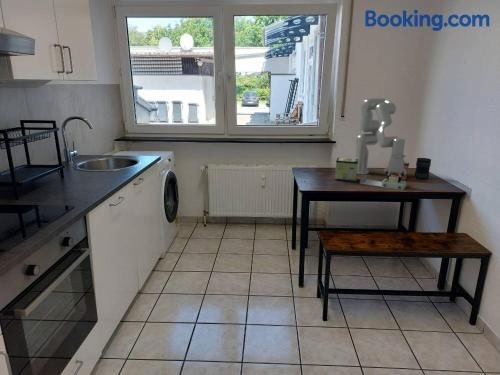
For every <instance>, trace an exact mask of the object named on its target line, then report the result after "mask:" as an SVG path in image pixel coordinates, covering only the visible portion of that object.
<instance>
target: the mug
mask: <svg viewBox="0 0 500 375" xmlns="http://www.w3.org/2000/svg"><path fill="white" fill-rule="evenodd" d="M410 163H411V162H410V161H407V160H404V169H405V170H406V171H407V173H406V174H405V175H403V176H402V177H401V181H406V180H407V176H408V171H409V166H410ZM403 173H404V171H403V172H402V174H403ZM392 174H394V176H399V173H394V172H392Z"/></svg>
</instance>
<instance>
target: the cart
mask: <svg viewBox="0 0 500 375" xmlns="http://www.w3.org/2000/svg"><path fill="white" fill-rule="evenodd" d="M387 179H388V178H385V179H383V180H382V181H381V182H382V185H381V186H388V187H394V188H399V189H400V188H401V189H403V188H404V187H405V185H406V184H407V181H406V180H401V181H400V182H399V183H398V184H395V183H388V180H387ZM405 188H406V187H405ZM405 188H404V189H405ZM399 189H398V190H399Z"/></svg>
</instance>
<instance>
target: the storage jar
mask: <svg viewBox="0 0 500 375" xmlns="http://www.w3.org/2000/svg"><path fill="white" fill-rule="evenodd" d="M431 162H432V159H431V158H427V157H417V158H416V164H415V166H416V167H415V171H414V179H415V178H416V180H420V181H424V180H425V181H427V180H429V176H430V170H431V168H430V167H431V164H432V163H431Z"/></svg>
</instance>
